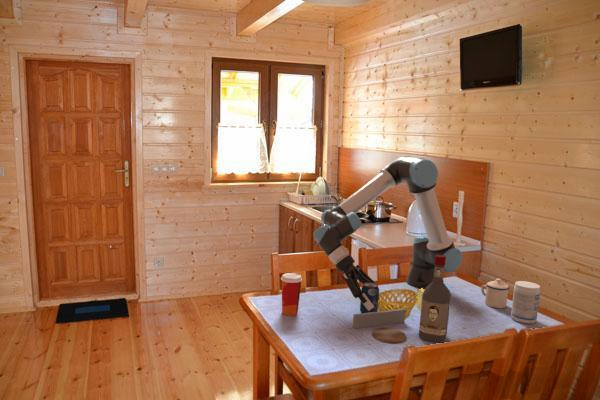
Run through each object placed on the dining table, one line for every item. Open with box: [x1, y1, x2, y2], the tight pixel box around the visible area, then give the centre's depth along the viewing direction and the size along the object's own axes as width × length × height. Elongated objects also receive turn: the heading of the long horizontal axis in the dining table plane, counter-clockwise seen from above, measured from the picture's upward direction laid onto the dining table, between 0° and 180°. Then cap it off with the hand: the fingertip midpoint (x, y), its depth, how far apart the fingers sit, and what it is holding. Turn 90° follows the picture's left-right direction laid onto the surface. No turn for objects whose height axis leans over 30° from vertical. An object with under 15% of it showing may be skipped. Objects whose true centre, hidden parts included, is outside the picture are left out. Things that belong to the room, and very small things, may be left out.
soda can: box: [359, 282, 380, 314], centre depth 206 cm, size 7×7×12 cm
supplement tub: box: [510, 280, 541, 325], centre depth 209 cm, size 10×10×15 cm
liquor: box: [418, 255, 452, 344], centre depth 185 cm, size 9×9×30 cm
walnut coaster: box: [371, 327, 407, 344], centre depth 187 cm, size 12×12×1 cm
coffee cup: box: [280, 272, 303, 317], centre depth 202 cm, size 8×8×15 cm
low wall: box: [352, 308, 407, 330], centre depth 196 cm, size 1×22×5 cm, turn 114°
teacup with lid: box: [480, 278, 510, 309], centre depth 226 cm, size 12×9×12 cm
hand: (376, 304), depth 205 cm, fingers open, 11 cm apart
